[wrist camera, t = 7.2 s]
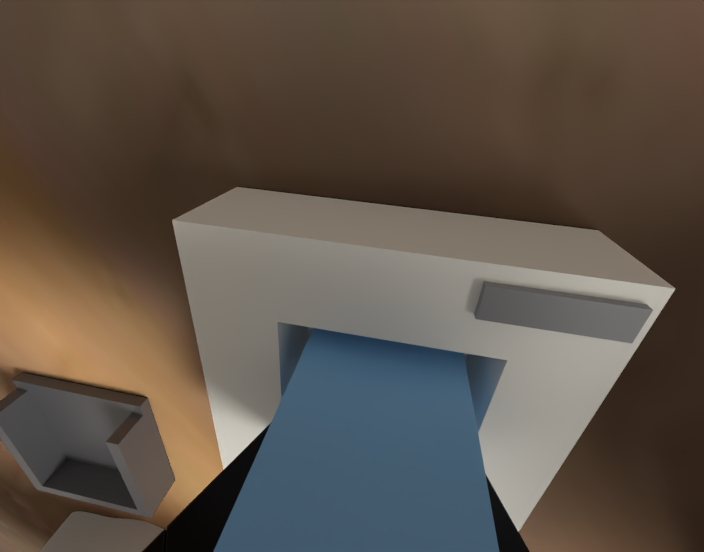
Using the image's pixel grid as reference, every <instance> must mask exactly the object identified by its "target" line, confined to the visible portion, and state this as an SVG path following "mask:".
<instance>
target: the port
mask: <svg viewBox="0 0 704 552" xmlns="http://www.w3.org/2000/svg"><path fill="white" fill-rule="evenodd" d="M172 223H173V227H174V232H175V237H176V242H177V247H178V252H179V257H180V261H181V266H182V271H183V276H184V281H185V286H186V291H187V295H188V300H189V305H190V310H191V315H192V320H193V324H194V329H195V334H196V339H197V344H198V349H199V354H200V358H201V363H202V368H203V373H204V378H205V383H206V388H207V392H208V397H209V402H210V407H211V412H212V417H213V421H214V426H215V431H216V436H217V441H218V446H219V451H220V455H221V460H222V465H223V470H224V469H225V468H226V467H227V466H228V465H229V464H230V463H231V462H232V461H233V460H234V459H235V458H236V457H237V456H238V455H239V454H240V453H241V452H242V451H243V450H244V449H245V448H246V447H247V446H248V445H249V444H250V443H251V442H252V441H253V440H254V439H255V438H256V437H257V436H258V435H259V434H260V433H261V432H262V431H263V430H264V429H265V428H266V427H267V426H268V425H269V424H270V423H271V422H272V420H273V417H274V415H275V413H276V411H277V408H278V406H279V404H280V402H281V399H282V397H283V395H284V393H285V390H286V388H287V386H288V384H289V382H290V379H291V377H292V375H293V373H294V370H295V368H296V366H297V364H298V361H299V359H300V357H301V355H302V352H303V350H304V348H305V346H306V344H307V341H308V339H309V337H310V335H311V332H312V330H313V328H317V329H323V330H329V331H335V332H341V333H347V334H353V335H359V336H365V337H371V338H377V339H383V340H389V341H395V342H401V343H407V344H413V345H419V346H425V347H431V348H436V349H442V350H448V351H454V352H460V353H464V357H465V363H466V368H467V374H468V379H469V385H470V391H471V396H472V402H473V407H474V413H475V419H476V424H477V430H478V435H479V441H480V446H481V452H482V458H483V463H484V469H485V474H486V475H487V477H488V479H489V481H490V482H491V484H492V486H493V488H494V490H495V491H496V493H497V495H498V497H499V498H500V500H501V502H502V504H503V506H504V507H505V509H506V511H507V513H508V514H509V516H510V518H511V520H512V522H513V523H514V525H515V527H516V529H517V530H518V532H519V531H520V529H521V527H522V526H523V524H524V523H525V521H526V520H527V518H528V517H529V515H530V513H531V512H532V510H533V509H534V507H535V506H536V504H537V503H538V501H539V500H540V498H541V496H542V495H543V493H544V492H545V490H546V489H547V487H548V486H549V484H550V483H551V481H552V479H553V478H554V476H555V475H556V473H557V472H558V470H559V469H560V467H561V465H562V464H563V462H564V461H565V459H566V458H567V456H568V455H569V453H570V452H571V450H572V448H573V447H574V445H575V444H576V442H577V441H578V439H579V438H580V436H581V434H582V433H583V431H584V430H585V428H586V427H587V425H588V424H589V422H590V421H591V419H592V417H593V416H594V414H595V413H596V411H597V410H598V408H599V407H600V405H601V404H602V402H603V400H604V399H605V397H606V396H607V394H608V393H609V391H610V390H611V388H612V386H613V385H614V383H615V382H616V380H617V379H618V377H619V376H620V374H621V373H622V371H623V369H624V368H625V366H626V365H627V363H628V362H629V360H630V359H631V357H632V355H633V354H634V352H635V351H636V349H637V348H638V346H639V345H640V343H641V342H642V340H643V338H644V337H645V335H646V334H647V332H648V331H649V329H650V328H651V326H652V325H653V323H654V321H655V320H656V318H657V317H658V315H659V314H660V312H661V311H662V309H663V307H664V306H665V304H666V303H667V301H668V300H669V298H670V297H671V295H672V294H673V292H674V290H675V289H676V288H674V287H673V286H672V285H670V284H669V283H668V282H666V281H665V280H664V279H662V278H661V277H660V276H658V275H657V274H656V273H654V272H653V271H652V270H650V269H649V268H648V267H646V266H645V265H644V264H642V263H641V262H640V261H638V260H637V259H636V258H634V257H633V256H632V255H630V254H629V253H628V252H626V251H625V250H624V249H622V248H621V247H620V246H618V245H617V244H616V243H614V242H613V241H612V240H611V239H609V238H608V237H607V236H605V235H604V234H603V233H601V232H600V231H599V230H591V229H583V228H575V227H566V226H558V225H550V224H542V223H533V222H525V221H517V220H508V219H500V218H492V217H483V216H475V215H467V214H458V213H450V212H442V211H433V210H425V209H417V208H409V207H400V206H392V205H384V204H375V203H367V202H359V201H350V200H342V199H334V198H325V197H317V196H309V195H301V194H292V193H284V192H276V191H267V190H259V189H251V188H242V187H236V188H234V189H232V190H230V191H228V192H226V193H224V194H222V195H220V196H218V197H216V198H214V199H212V200H210V201H208V202H206V203H204V204H203V205H201V206H199V207H197V208H195V209H193V210H191V211H189V212H187V213H185V214H183V215H181V216H179V217H177V218H175V219H173V220H172Z"/></svg>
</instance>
